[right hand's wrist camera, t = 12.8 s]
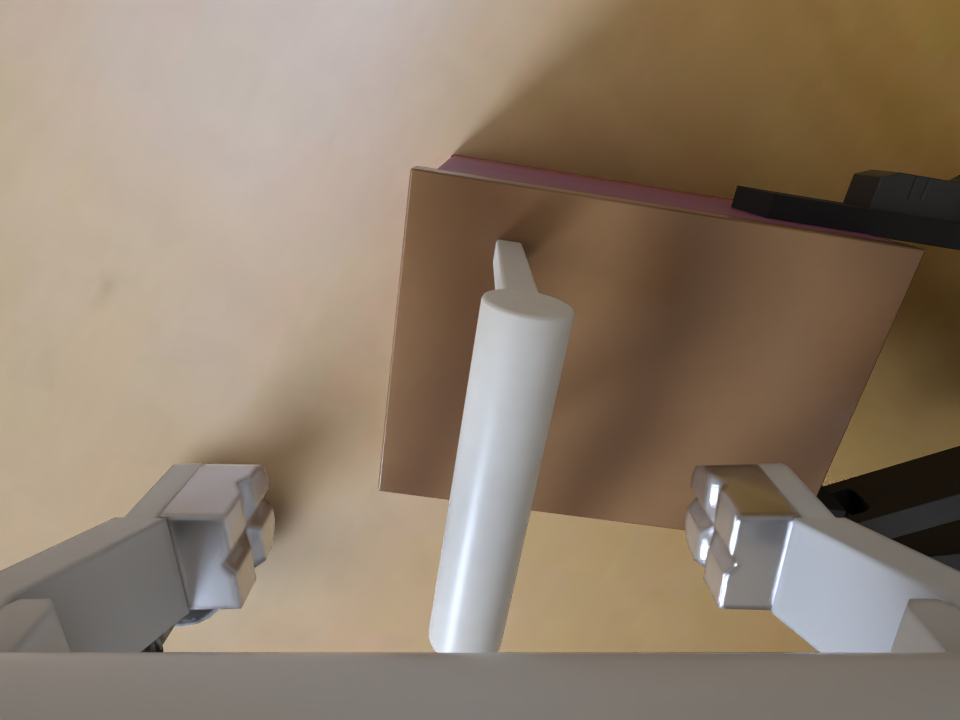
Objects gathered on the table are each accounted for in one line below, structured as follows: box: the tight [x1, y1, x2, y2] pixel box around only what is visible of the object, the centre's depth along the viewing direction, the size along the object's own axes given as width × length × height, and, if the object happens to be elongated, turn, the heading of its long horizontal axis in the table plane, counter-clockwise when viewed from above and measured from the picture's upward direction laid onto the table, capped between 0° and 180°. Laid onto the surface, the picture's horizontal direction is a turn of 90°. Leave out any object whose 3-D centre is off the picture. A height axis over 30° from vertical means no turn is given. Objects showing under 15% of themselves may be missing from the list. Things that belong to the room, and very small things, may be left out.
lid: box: [378, 166, 924, 652], centre depth 14 cm, size 14×10×8 cm
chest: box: [438, 155, 893, 242], centre depth 22 cm, size 13×10×10 cm
